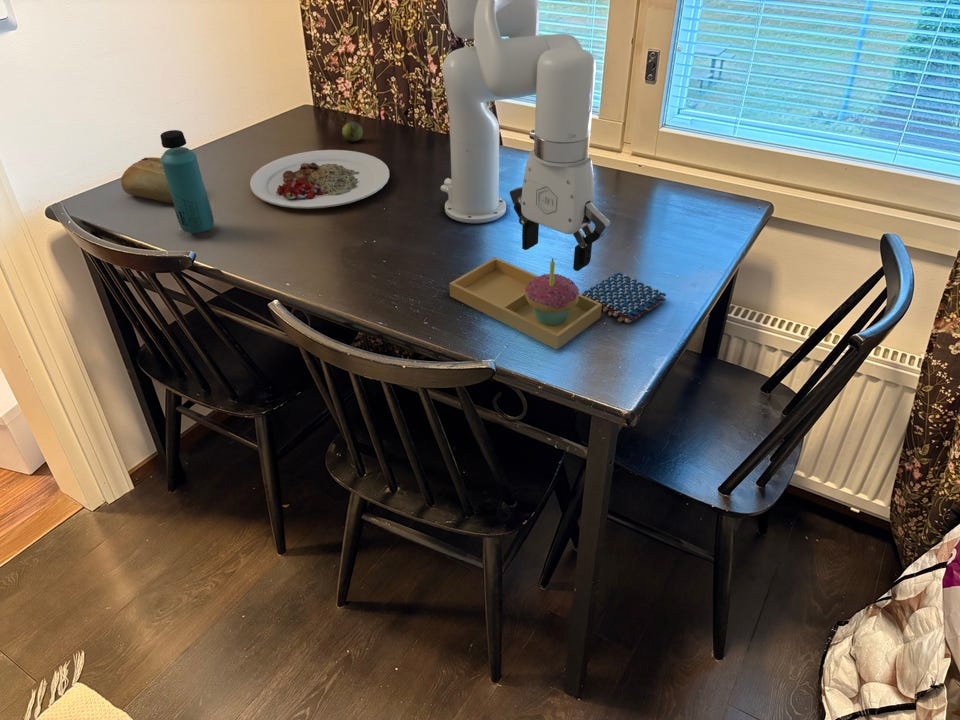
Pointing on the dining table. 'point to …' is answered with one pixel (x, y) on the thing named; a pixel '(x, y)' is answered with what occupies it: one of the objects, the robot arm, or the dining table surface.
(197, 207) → the beverage bottle
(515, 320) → the divided tray
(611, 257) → the dining table surface
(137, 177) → the bread roll
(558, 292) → the cupcake
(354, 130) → the lime
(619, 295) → the woven mat
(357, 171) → the plated food
